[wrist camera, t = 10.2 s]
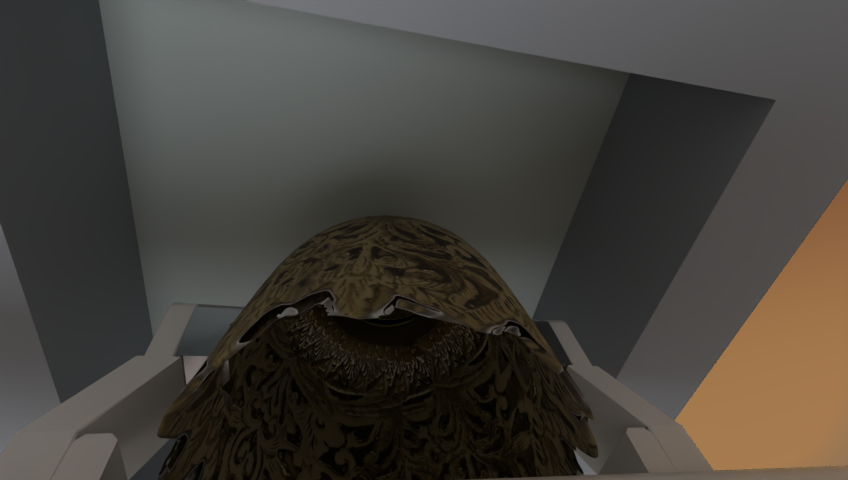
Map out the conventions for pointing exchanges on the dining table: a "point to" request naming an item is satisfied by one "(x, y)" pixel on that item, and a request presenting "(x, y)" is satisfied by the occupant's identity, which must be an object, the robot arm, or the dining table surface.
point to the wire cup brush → (379, 371)
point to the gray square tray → (409, 164)
